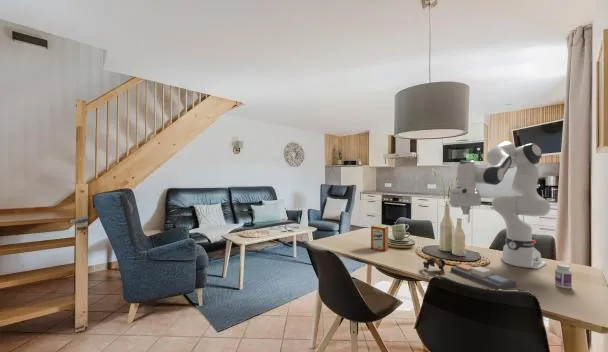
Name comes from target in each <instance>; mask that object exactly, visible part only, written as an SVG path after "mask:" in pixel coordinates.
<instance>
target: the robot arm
mask: <svg viewBox="0 0 608 352" xmlns="http://www.w3.org/2000/svg"><path fill="white" fill-rule="evenodd" d="M542 154H543V151H542V149H541V147H540V146H539V145H537V144H536V143H527V144H524V145H522V146H521V145H520V146H516V145H515V144H514V143H513V142H511V141H503V142H501V143H498V144H496V145H495V146H493V147H492V148H491V149H490V150H489V151H488V152H487V154H486V161H487V163H488V164H489V165H490V166H478V165H476V162H475V161H474V160H473V159H472V160H461V161H459V162H458V165H457V170H456V177H457V183H456V186H454V187H451V188H450V189H449V190H450V191H449V192H450V193H451V194H450V198H449V200H450V201H449V203H450V206H451V207H452V208H460V209H461V211H462V215H465V216H467V215H469V214H470V210H471V209H472V207H480V206H481V205H482V199H481V198H482V197H481V193H480V191H479V190H478V189H476V188H477V184H482V185H493V186H496V185H499V184H501V182H502V181H503V180H504V177H505V175H506V173H507V172H508V170H509V169H513V168H516V171H515V174H514V177H513V179H512V184H511V190H512V191H513V192H514V193H515V194H517V195H512V194H511V195H509V194H507V195H506V194H503V195H502V194H501V195H497V196H495V197H493V199H492V201H491V206H492V208H493V210H494V211H495V212H496V213H498V215H500V216H501V217H502V219H503V221H504V223H505V227H506V237H505V245H503V248H502V249H503V250H502V256H500V260H501V261H503V262H504V263H506V264H508V265H511V266H516V267H521V268H529V269H536V270H537V269H538V270H539V269H541V268H543V267H544V266H546V265H547V264H548V263H547V262H546V261H544V260H542V255H541V252H540V251H539V250H537V249H536V248H535V246H534V245H535V244H536V243H537V241H536V239H534V240H533V238H532V235H533V234H532V233H533V232H532V230H533V229H532V226H531V225H530V224H529V223H528V222H525V221H524V220H522V219H521V218H520V216H526V217H546V215H548V214H549V213H550V210H551V205H550V202H549V201H548V200H547V199H546V198H544V197H542V196H541V195H540V194H539V193H538V191H537V189H538V182H539V177H540V174H539V173H540V172H539V168H538V166H537V164H538V163H539V162H540V159H541V158H542Z"/></svg>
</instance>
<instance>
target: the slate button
mask: <svg viewBox="0 0 608 352" xmlns="http://www.w3.org/2000/svg"><path fill="white" fill-rule="evenodd" d="M497 275H498V274H495V275H494V276H490V277H488V279H489V280H491V281H494V282H497V283H499V284H505V283H509V278H507V279H506V277H504V278H503V276H501V277H500V275H498V276H497Z"/></svg>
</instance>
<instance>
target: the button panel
mask: <svg viewBox="0 0 608 352" xmlns="http://www.w3.org/2000/svg"><path fill="white" fill-rule="evenodd" d="M470 266H471V267H473V266H472V265H470ZM450 272H451V273H453V274H456V275H458V276H462V277H463V278H467V279H470V280H472V281H475V282H477V283H480V284H483V285H484V286H487V287H489V288H492V289H495V290H497V289H504V290H508V289H510V288H515V287H517V281H515V280H512V279H509V278H506V277H503V276H500V275H498V274H494V273H492V272H491V276H494V275H497V276H500V277H503V278H506V279H509V283H505V284H499V283H497V282H494V281H491V280H489V279H488V277H490V276H488V277H484V278H483V277H481V276H478V275H475V274H473V273H472V271H468V272H467V271H464V270H462V269H459V268H457V265H456V266H452V267H450Z"/></svg>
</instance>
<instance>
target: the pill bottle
mask: <svg viewBox="0 0 608 352" xmlns="http://www.w3.org/2000/svg"><path fill="white" fill-rule="evenodd" d="M556 267H557V268H555V270H554V283H555V285H556V287H560V288H562V289H572V286H573V285H572V275H573V274H572V272H571V270H570V266H569V265H567V264H561V263H558V264H556Z"/></svg>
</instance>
